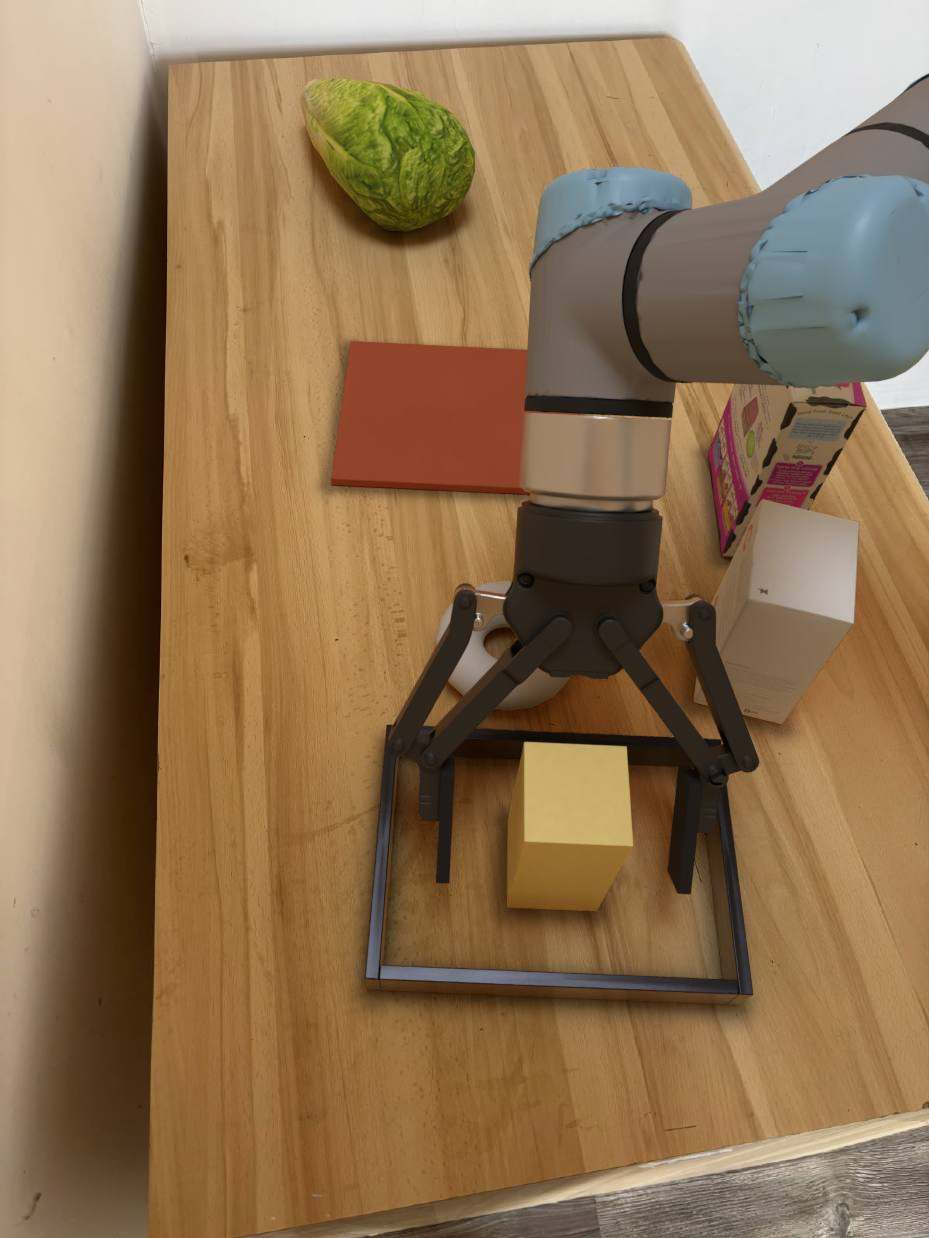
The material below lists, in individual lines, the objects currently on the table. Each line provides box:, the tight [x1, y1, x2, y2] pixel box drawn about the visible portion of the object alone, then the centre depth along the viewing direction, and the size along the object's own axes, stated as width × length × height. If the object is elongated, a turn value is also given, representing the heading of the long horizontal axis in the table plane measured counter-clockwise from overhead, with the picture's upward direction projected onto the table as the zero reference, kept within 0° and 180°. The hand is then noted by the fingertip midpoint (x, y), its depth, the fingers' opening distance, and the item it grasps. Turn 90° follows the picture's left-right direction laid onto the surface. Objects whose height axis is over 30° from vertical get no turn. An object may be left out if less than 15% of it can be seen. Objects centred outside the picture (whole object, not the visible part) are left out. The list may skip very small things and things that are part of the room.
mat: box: [330, 340, 581, 495], centre depth 78 cm, size 20×16×1 cm
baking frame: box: [364, 723, 754, 1006], centre depth 57 cm, size 22×16×3 cm
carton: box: [506, 742, 634, 912], centre depth 53 cm, size 6×6×12 cm
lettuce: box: [299, 78, 476, 232], centre depth 92 cm, size 12×24×13 cm
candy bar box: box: [707, 382, 868, 559], centre depth 68 cm, size 11×5×16 cm, turn 178°
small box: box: [693, 499, 861, 725], centre depth 61 cm, size 8×6×13 cm
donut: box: [434, 580, 571, 711], centre depth 65 cm, size 10×4×10 cm
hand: (561, 877), depth 53 cm, fingers open, 13 cm apart
